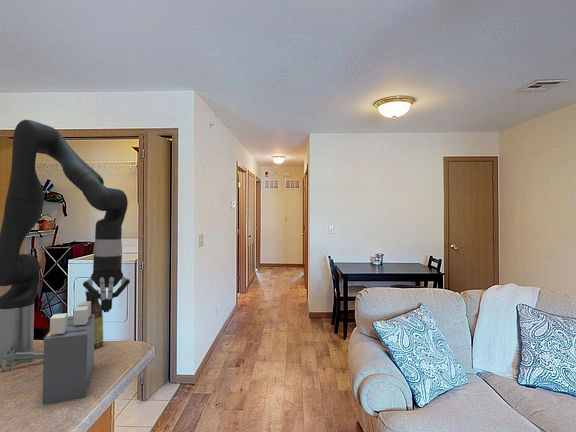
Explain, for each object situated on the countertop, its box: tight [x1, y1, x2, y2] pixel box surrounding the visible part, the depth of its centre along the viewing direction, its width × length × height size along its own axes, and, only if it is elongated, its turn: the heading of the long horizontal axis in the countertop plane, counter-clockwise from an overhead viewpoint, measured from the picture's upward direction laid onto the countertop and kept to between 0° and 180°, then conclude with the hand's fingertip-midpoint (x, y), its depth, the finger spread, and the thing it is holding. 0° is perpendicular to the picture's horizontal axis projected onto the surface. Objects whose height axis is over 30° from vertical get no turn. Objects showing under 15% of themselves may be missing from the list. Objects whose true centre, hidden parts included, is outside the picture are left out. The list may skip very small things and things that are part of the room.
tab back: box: [76, 300, 91, 318], centre depth 96 cm, size 3×4×4 cm
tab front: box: [49, 312, 68, 335], centre depth 84 cm, size 3×4×4 cm
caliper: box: [1, 350, 44, 372], centre depth 102 cm, size 20×1×6 cm, turn 128°
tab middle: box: [73, 306, 89, 325], centre depth 91 cm, size 3×4×4 cm
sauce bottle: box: [85, 288, 104, 350], centre depth 115 cm, size 7×6×20 cm
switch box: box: [41, 314, 95, 406], centre depth 90 cm, size 9×19×16 cm, turn 25°
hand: (106, 311), depth 99 cm, fingers closed
